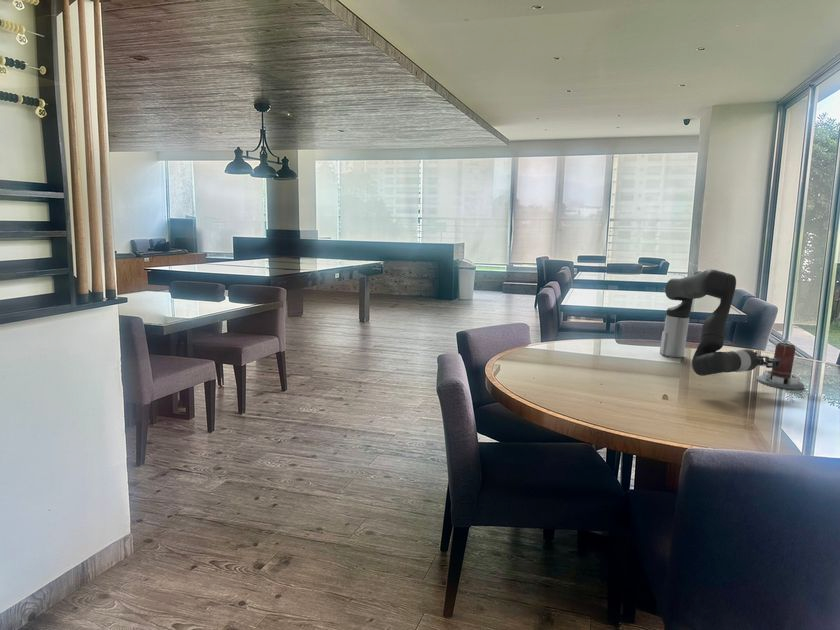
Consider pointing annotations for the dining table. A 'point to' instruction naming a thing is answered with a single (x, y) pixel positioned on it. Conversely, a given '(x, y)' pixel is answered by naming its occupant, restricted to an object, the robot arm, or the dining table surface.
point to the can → (784, 361)
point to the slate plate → (784, 386)
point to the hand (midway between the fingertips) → (767, 357)
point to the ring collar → (780, 379)
